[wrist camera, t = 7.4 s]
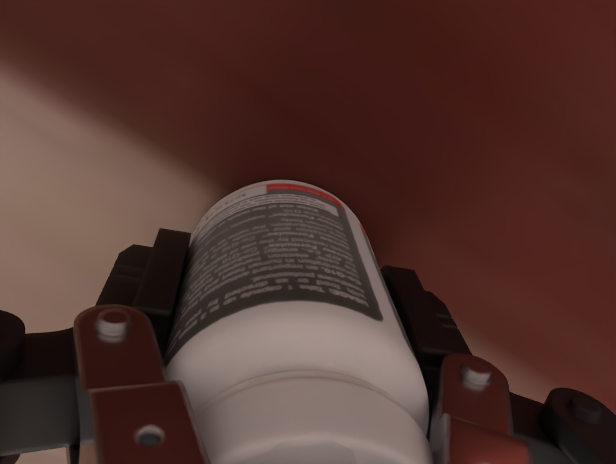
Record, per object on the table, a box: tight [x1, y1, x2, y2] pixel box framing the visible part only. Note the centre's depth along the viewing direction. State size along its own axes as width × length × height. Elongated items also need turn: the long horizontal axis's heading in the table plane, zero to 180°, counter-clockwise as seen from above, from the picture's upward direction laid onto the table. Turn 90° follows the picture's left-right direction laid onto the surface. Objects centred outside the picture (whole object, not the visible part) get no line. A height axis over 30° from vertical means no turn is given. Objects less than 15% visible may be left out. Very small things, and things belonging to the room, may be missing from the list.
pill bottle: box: [163, 180, 434, 464], centre depth 12 cm, size 5×5×8 cm
